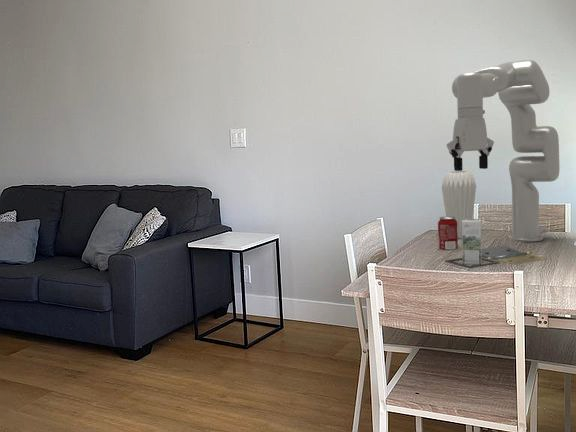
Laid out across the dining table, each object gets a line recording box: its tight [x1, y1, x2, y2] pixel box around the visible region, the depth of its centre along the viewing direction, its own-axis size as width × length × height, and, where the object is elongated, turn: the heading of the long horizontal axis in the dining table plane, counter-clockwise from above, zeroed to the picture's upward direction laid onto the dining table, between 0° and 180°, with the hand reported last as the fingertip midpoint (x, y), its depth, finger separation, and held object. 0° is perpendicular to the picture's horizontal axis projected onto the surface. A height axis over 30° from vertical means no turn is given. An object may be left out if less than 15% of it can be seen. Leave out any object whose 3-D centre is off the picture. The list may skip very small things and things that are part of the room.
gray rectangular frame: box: [445, 257, 501, 272], centre depth 194 cm, size 12×12×1 cm
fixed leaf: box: [485, 250, 549, 266], centre depth 196 cm, size 18×11×2 cm, turn 113°
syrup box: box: [461, 218, 483, 265], centre depth 194 cm, size 6×6×14 cm
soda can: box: [437, 216, 459, 251], centre depth 219 cm, size 7×7×12 cm
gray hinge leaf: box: [481, 245, 527, 261], centre depth 204 cm, size 14×10×1 cm
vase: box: [441, 170, 477, 240], centre depth 244 cm, size 13×13×26 cm
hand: (471, 169), depth 191 cm, fingers open, 9 cm apart
